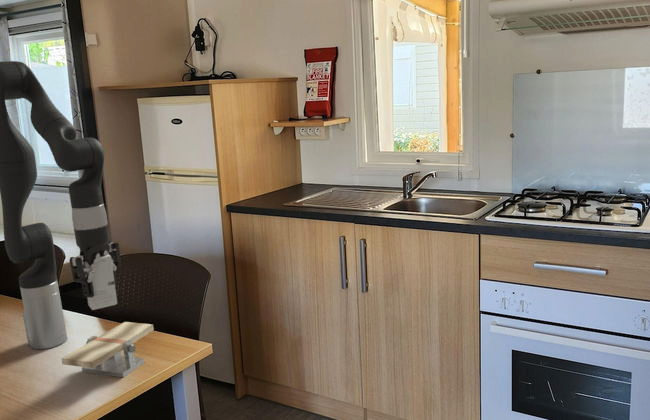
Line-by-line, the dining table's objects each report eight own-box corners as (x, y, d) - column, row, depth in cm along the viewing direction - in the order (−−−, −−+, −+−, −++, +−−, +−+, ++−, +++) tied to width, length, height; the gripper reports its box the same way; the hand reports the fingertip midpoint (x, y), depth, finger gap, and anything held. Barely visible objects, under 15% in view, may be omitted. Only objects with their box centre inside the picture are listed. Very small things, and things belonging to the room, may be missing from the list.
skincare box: (92, 310, 145) (84, 261, 142) (88, 305, 148) (80, 257, 146) (118, 304, 148) (111, 255, 145) (113, 299, 152) (106, 252, 149)
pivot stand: (80, 371, 150) (75, 344, 149) (103, 357, 158) (99, 330, 156) (125, 377, 145) (121, 349, 144) (146, 362, 153) (142, 335, 151)
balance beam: (62, 364, 142) (61, 357, 142) (125, 327, 162) (124, 321, 162) (93, 368, 139) (92, 361, 138) (153, 330, 159) (153, 324, 158)
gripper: (80, 232, 136) (92, 303, 139) (124, 217, 149) (133, 282, 152) (54, 231, 139) (66, 301, 142) (99, 217, 152) (109, 280, 155)
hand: (101, 291), depth 147 cm, fingers closed on skincare box, 7 cm apart
